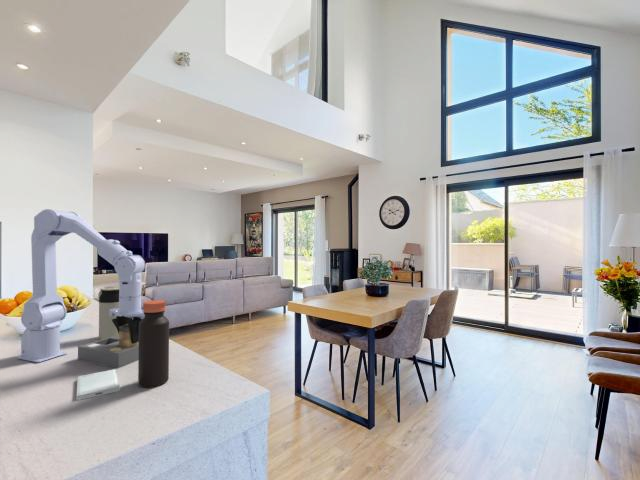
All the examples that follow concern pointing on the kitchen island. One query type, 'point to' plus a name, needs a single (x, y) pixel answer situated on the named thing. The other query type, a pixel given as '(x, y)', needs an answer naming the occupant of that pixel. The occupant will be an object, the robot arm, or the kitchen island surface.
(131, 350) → the socket block
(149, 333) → the bottle
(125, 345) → the plug
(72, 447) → the kitchen island surface
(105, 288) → the travel mug
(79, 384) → the hard drive
